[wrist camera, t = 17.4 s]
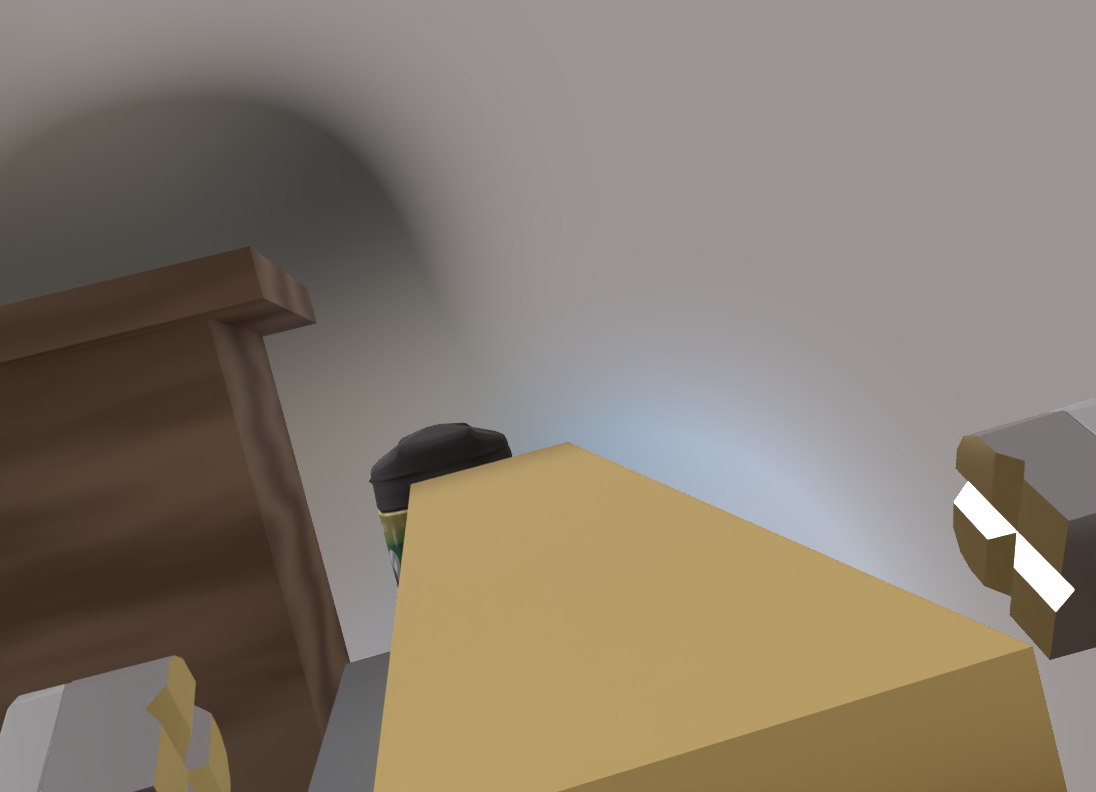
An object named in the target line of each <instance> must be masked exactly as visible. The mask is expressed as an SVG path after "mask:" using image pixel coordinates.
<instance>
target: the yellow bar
mask: <svg viewBox="0 0 1096 792" xmlns="http://www.w3.org/2000/svg"><path fill="white" fill-rule="evenodd" d="M374 792H1067V789H1066V785H1065V781H1064V777H1063V772H1062V768H1061V764H1060V760H1059V756H1058V751H1057V747H1056V743H1055V739H1054V735H1053V730H1052V726H1051V722H1050V718H1049V713H1048V709H1047V705H1046V701H1045V697H1044V692H1043V688H1042V684H1041V680H1040V676H1039V671H1038V668H1037V663H1036V659H1035V655H1034V651H1033V646H1031V645H1028V644H1026V643H1024V642H1021V641H1019V640H1017V639H1015V638H1012V637H1010V636H1008V635H1005V634H1003V633H1001V632H999V631H996V630H994V629H992V628H990V627H987V626H985V625H983V624H980V623H978V622H976V621H973V620H971V619H969V618H967V617H965V616H962V615H960V614H958V613H956V612H953V611H951V610H949V609H946V608H944V607H942V606H939V605H937V604H935V603H932V602H931V601H928V600H926V599H924V598H921V597H919V596H917V595H914V594H912V593H910V592H908V591H905V590H903V589H901V588H899V587H896V586H894V585H892V584H890V583H887V582H885V581H883V580H881V579H878V578H876V577H874V576H871V575H869V574H867V573H865V572H862V571H860V570H858V569H856V568H853V567H851V566H849V565H846V564H844V563H841V562H839V561H837V560H835V559H833V558H830V557H828V556H826V555H823V554H821V553H819V552H817V551H815V550H812V549H810V548H808V547H805V546H803V545H801V544H798V543H796V542H794V541H792V540H790V539H787V538H785V537H783V536H780V535H778V534H776V533H774V532H771V531H769V530H767V529H764V528H762V527H760V526H757V525H755V524H753V523H751V522H749V521H746V520H744V519H742V518H739V517H737V516H735V515H733V514H730V513H728V512H726V511H724V510H721V509H719V508H717V507H715V506H712V505H710V504H708V503H705V502H703V501H701V500H699V499H696V498H694V497H692V496H689V495H687V494H685V493H682V492H680V491H678V490H676V489H673V488H671V487H669V486H667V485H665V484H662V483H660V482H657V481H655V480H653V479H651V478H649V477H646V476H644V475H642V474H640V473H637V472H635V471H633V470H630V469H628V468H626V467H624V466H621V465H619V464H617V463H615V462H612V461H610V460H608V459H605V458H603V457H601V456H599V455H596V454H594V453H592V452H589V451H587V450H585V449H582V448H580V447H578V446H575V445H574V444H571V443H569V442H567V443H563V444H559V445H555V446H552V447H548V448H545V449H540V450H537V451H533V452H529V453H526V454H522V455H518V456H515V457H511V458H507V459H503V460H499V461H496V462H492V463H488V464H485V465H481V466H477V467H473V468H470V469H466V470H462V471H458V472H455V473H451V474H447V475H444V476H440V477H436V478H432V479H429V480H425V481H421V482H417V483H414V484H411V488H410V496H409V504H408V513H407V521H406V529H405V537H404V545H403V554H402V562H401V570H400V578H399V587H398V596H397V603H396V611H395V620H394V628H393V636H392V645H391V652H390V661H389V669H388V677H387V685H386V694H385V702H384V710H383V718H382V726H381V735H380V743H379V751H378V759H377V768H376V776H375V784H374Z"/></svg>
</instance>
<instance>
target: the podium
mask: <svg viewBox="0 0 1096 792" xmlns="http://www.w3.org/2000/svg"><path fill="white" fill-rule="evenodd" d="M390 652H391V651H390ZM390 652H387V653H383V654H380V655H376V656H373V657H370V658H366V659H362V660H359V661H355V662H352V663H348V664H346V665H345V668H344V671H343V675H342V678H341V681H340V685H339V688H338V692H337V695H336V698H335V702H334V705H333V708H332V712H331V715H330V719H329V722H328V725H327V729H326V732H325V735H324V739H323V742H322V745H321V749H320V752H319V756H318V759H317V762H316V766H315V769H314V772H313V776H312V779H311V783H310V786H309V789H308V792H374V784H375V776H376V768H377V759H378V751H379V743H380V735H381V726H382V718H383V710H384V702H385V694H386V685H387V677H388V669H389V661H390Z"/></svg>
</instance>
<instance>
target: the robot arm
mask: <svg viewBox="0 0 1096 792" xmlns="http://www.w3.org/2000/svg"><path fill="white" fill-rule="evenodd" d="M956 469H957V470H958V471H959V472H960V473H961V475H963V477H964V478H966V480H967V481H968V482H967V484H966V485H965V487H964V488H963V490H962V491H961V492H960V494H959V495H958V497H957V498H956V500H955V501H954V516H953V517H954V519H953V520H954V521H953V528H954V531H955V534H956V538H957V541H958V545H959V548H960V552H961V553H962V555H963V557H964V559H965V560H966V562H967V564H968V566H969V568H970V569H971V571H972V572H973V573H974V574H975V575H976V576H977V578H978V579H979V580H980V581H981V582H982V584H983V585H984V586H986V587H989V588H991V589H994V590H996V591H999V592H1002V593H1004V594H1007V595H1009V596H1011V603H1010V615H1011V617H1012V618H1013V619H1014V620H1015V621H1016V622H1017V624H1018V625H1019V626H1020V627H1021V628H1022V629H1023V630H1024V631H1025V633H1027V635H1028V636H1029V637H1030V638H1031V639H1032V640H1033V642H1034V643H1035V644H1036V645H1037V646H1038V647H1039V648H1040V649H1041V650H1042V652H1043V653H1044V654H1045V655H1046V656H1047V657H1048V658H1049V660H1051V659H1055V658H1059V657H1062V656H1066V655H1069V654H1073V653H1077V652H1080V651H1084V650H1088V649H1091V648H1095V647H1096V397H1094V398H1091V399H1088V400H1084V401H1081V402H1078V403H1074V404H1071V405H1068V406H1064V407H1061V408H1058V409H1054V410H1052V411H1051V412H1048V413H1044V414H1040V415H1037V416H1033V417H1030V418H1026V419H1023V420H1019V421H1016V422H1012V423H1008V424H1005V425H1002V426H998V427H995V428H991V429H987V430H984V431H980V432H977V433H973V434H970V435H967V436H963V438H962V440H961V442H960V444H959V447H958V449H957V459H956ZM195 685H196V681H195V680H194V678H193V676H192V674H191V672H190V671H189V669H188V667H187V665H186V663H185V661H184V660H183V658H180V657H177V656H175V655H173V656H170V657H166V658H162V659H158V660H154V661H150V662H146V663H142V664H138V665H134V666H130V667H126V668H122V669H118V670H114V671H110V672H107V673H103V674H99V675H95V676H91V677H87V678H83V679H79V680H75V681H72V682H71V683H68V684H63V685H59V686H55V687H51V688H47V689H43V690H40V691H36V692H32V693H28V694H24V695H20V696H18V697H17V698H16V700H15V701H14V702H13V703H12V704H11V705H10V706H9V708H8V710H7V713H6V716H5V720H4V723H3V726H2V730H1V733H0V792H230V785H231V781H230V774H229V767H228V760H227V753H226V749H225V746H224V743H223V740H222V737H221V733H220V730H219V728H218V726H217V724H216V722H215V720H214V718H213V716H212V714H211V713H210V712H208V711H206V710H204V709H202V708H199V707H197V706H195V705H194V698H195Z"/></svg>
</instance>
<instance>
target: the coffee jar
mask: <svg viewBox="0 0 1096 792" xmlns="http://www.w3.org/2000/svg"><path fill="white" fill-rule="evenodd" d="M511 457H512V453H511V450H510V448H509V446H508V442H507V440H506V437H505V436H504V435H503V434H502V433H499V432H496V431H491V430H486V429H481V428H475V427H471V426H469V425H468V424H466V423H451V424H438V425H434V426H430V427H426V428H424V429H421V430H419V431H417V432H415V433H413V434H410V435H408V436H406V437H404V438H402V439H401V440H400V442H399V443H398V445H397V446H396V447H395V448H393V449H392V450H391V451H390V452H388V453H387V454H386V455H385V456H383V457H382V458H381V459H380V460H379V461H378V462H377V463H376V464H375V465H374V466H373V468H372V469H371V479H370V480H369V482H371V483H372V484H373V488H374V493H375V498H376V503H377V508H378V509H379V516H380V519H381V523H382V527H383V531H384V535H385V539H386V543H387V547H388V551H389V555H390V558H391V563H392V566H393V570H394V574H395V578H396V581H397V586H398V587H399V578H400V570H401V562H402V554H403V545H404V537H405V529H406V521H407V513H408V504H409V496H410V488H411V484H414V483H417V482H421V481H425V480H429V479H432V478H436V477H440V476H444V475H447V474H451V473H455V472H458V471H462V470H466V469H470V468H473V467H477V466H481V465H485V464H488V463H492V462H496V461H499V460H503V459H507V458H511Z"/></svg>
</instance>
